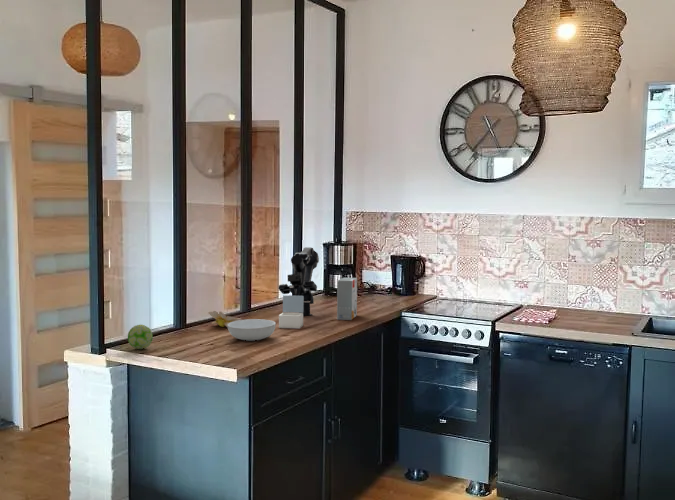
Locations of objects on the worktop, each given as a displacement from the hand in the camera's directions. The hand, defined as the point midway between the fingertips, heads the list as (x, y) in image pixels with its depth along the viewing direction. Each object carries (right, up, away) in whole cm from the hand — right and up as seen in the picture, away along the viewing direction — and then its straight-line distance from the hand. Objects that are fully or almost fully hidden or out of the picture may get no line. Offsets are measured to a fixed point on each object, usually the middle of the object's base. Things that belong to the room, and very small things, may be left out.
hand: (295, 302), depth 335 cm
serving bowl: (-17, -13, -37) cm, 43 cm away
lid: (-1, 0, -6) cm, 6 cm away
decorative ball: (-60, -15, -57) cm, 84 cm away
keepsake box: (-2, -11, -9) cm, 14 cm away
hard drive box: (+25, -9, +15) cm, 31 cm away
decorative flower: (-33, -11, -8) cm, 36 cm away
